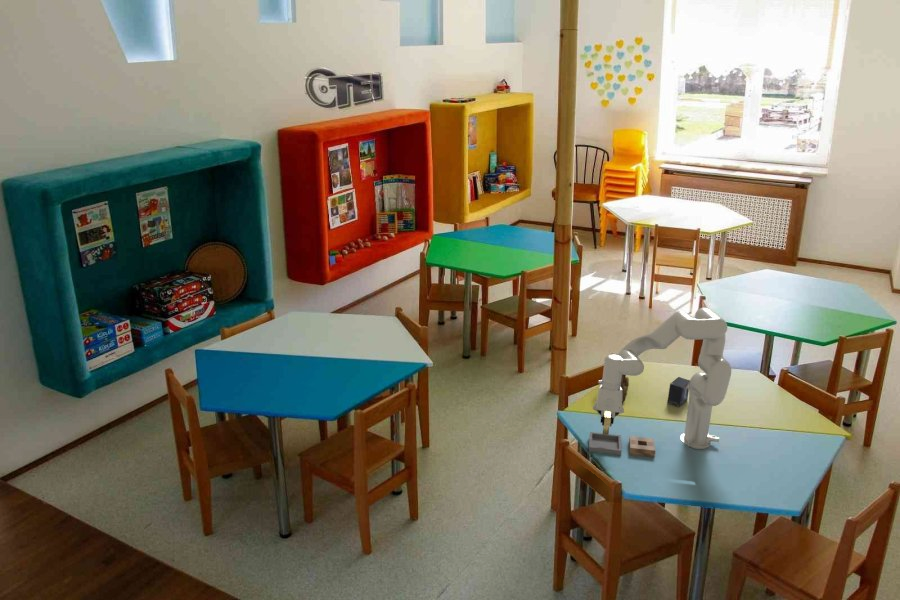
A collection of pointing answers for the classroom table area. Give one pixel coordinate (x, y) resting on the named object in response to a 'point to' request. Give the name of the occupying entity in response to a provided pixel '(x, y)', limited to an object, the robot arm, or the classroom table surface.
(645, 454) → the socket block
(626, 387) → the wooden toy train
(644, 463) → the classroom table surface
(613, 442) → the tray
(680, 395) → the small box
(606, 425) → the t key
